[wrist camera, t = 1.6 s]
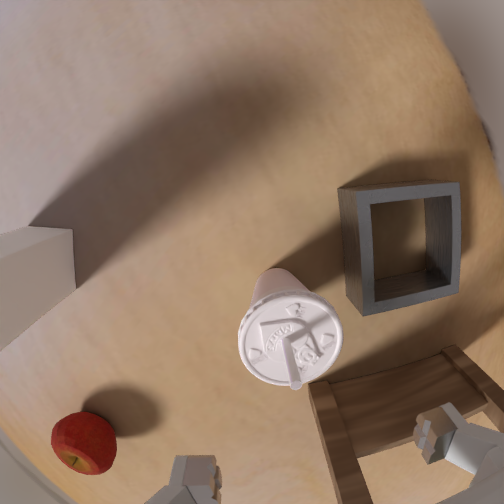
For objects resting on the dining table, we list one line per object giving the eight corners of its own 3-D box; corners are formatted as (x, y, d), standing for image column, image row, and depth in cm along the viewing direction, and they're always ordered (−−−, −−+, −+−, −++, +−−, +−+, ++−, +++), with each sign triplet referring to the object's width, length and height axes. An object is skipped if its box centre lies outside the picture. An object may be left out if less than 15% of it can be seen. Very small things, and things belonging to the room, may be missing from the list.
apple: (117, 451, 32) (100, 493, 25) (65, 423, 31) (42, 462, 24) (130, 420, 31) (111, 467, 23) (71, 389, 30) (43, 430, 22)
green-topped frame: (299, 344, 29) (384, 632, 3) (463, 305, 29) (631, 442, 3) (304, 398, 30) (362, 636, 5) (455, 357, 30) (584, 501, 5)
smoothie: (270, 237, 26) (298, 304, 13) (327, 280, 27) (393, 370, 14) (224, 295, 27) (209, 401, 14) (281, 333, 28) (308, 448, 15)
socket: (337, 188, 25) (355, 191, 21) (431, 179, 25) (459, 182, 21) (346, 295, 28) (362, 316, 23) (433, 277, 28) (458, 292, 23)
